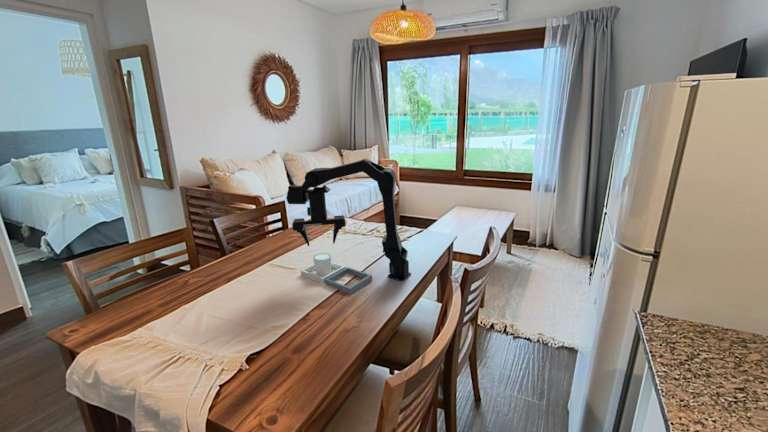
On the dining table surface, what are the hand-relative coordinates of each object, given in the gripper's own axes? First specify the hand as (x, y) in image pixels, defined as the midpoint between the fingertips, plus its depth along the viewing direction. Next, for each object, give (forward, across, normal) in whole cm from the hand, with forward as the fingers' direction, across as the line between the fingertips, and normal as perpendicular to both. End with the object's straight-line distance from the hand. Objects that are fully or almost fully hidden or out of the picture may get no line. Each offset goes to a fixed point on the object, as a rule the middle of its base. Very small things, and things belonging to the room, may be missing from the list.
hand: (321, 244), depth 129 cm
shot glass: (+12, 0, 0) cm, 12 cm away
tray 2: (+12, -9, +9) cm, 18 cm away
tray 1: (+12, 0, 0) cm, 12 cm away
